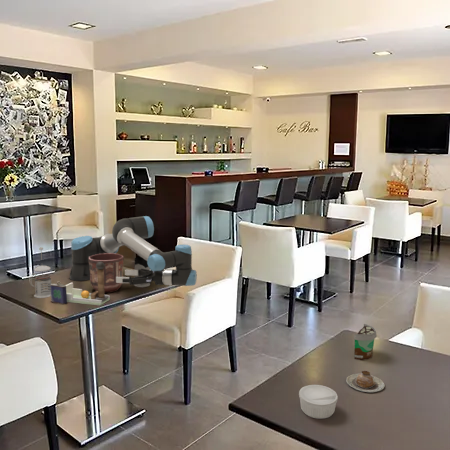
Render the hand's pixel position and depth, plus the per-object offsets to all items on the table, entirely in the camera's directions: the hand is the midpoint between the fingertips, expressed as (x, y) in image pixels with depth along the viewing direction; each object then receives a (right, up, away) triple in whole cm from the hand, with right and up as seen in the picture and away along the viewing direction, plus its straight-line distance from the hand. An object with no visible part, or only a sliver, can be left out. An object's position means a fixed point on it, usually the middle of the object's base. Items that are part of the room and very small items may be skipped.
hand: (120, 276), depth 233 cm
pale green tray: (-19, -13, +6) cm, 23 cm away
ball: (-19, -10, +6) cm, 22 cm away
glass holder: (+6, -8, +35) cm, 36 cm away
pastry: (+96, -28, -76) cm, 125 cm away
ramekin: (+77, -30, -91) cm, 123 cm away
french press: (-43, -11, +14) cm, 47 cm away
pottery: (-12, -10, +24) cm, 28 cm away
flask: (-30, -13, +3) cm, 33 cm away
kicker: (-11, -12, +4) cm, 17 cm away
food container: (+102, -24, -55) cm, 119 cm away
